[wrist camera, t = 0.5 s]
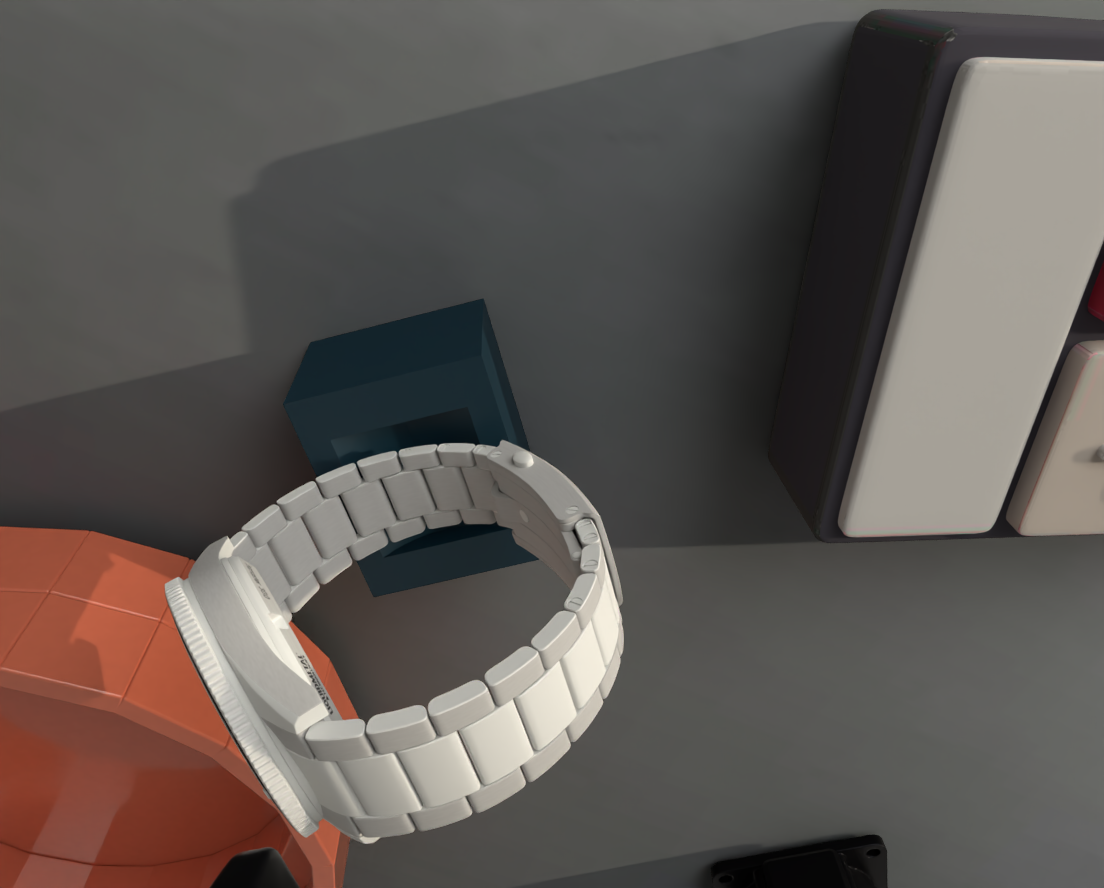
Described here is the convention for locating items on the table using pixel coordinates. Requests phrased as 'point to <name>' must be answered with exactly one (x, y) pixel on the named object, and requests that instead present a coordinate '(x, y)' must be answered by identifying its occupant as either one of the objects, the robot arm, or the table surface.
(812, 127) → the table surface
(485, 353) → the watch
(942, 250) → the calculator
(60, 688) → the terracotta bowl
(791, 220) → the table surface
